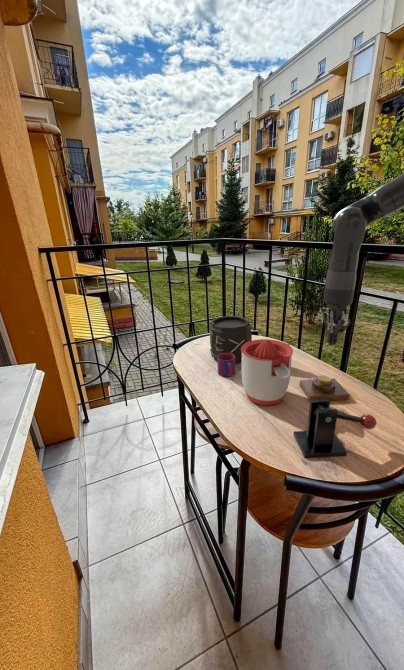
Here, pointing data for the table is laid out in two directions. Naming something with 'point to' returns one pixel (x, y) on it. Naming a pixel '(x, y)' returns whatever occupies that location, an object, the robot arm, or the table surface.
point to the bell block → (323, 390)
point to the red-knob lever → (353, 418)
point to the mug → (226, 364)
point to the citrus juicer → (266, 370)
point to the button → (324, 380)
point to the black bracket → (320, 433)
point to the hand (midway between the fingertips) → (331, 343)
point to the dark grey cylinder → (229, 336)
